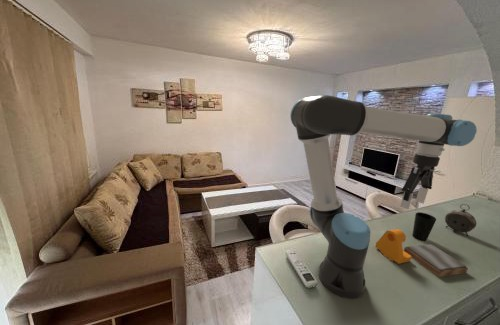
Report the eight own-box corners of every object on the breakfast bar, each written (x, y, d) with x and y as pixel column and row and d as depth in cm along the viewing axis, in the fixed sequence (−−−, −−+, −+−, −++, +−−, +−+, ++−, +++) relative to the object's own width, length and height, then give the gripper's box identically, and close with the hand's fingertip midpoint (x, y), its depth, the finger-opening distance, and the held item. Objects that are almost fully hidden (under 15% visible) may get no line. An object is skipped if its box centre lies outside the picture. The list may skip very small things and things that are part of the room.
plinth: (437, 276, 76) (439, 270, 75) (403, 251, 89) (405, 245, 89) (466, 273, 79) (468, 266, 78) (429, 249, 92) (431, 243, 91)
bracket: (410, 262, 83) (418, 236, 80) (398, 265, 81) (405, 239, 78) (386, 245, 93) (392, 222, 90) (374, 248, 91) (380, 224, 88)
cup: (406, 234, 103) (412, 213, 100) (415, 232, 105) (422, 211, 102) (423, 244, 96) (430, 221, 93) (433, 241, 98) (440, 219, 95)
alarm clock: (472, 236, 104) (482, 207, 100) (468, 239, 101) (479, 210, 97) (444, 225, 113) (453, 199, 109) (440, 227, 111) (449, 200, 107)
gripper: (425, 158, 69) (408, 214, 75) (452, 155, 82) (435, 203, 87) (400, 154, 75) (386, 205, 81) (429, 151, 88) (415, 196, 93)
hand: (412, 204), depth 84 cm, fingers open, 13 cm apart
